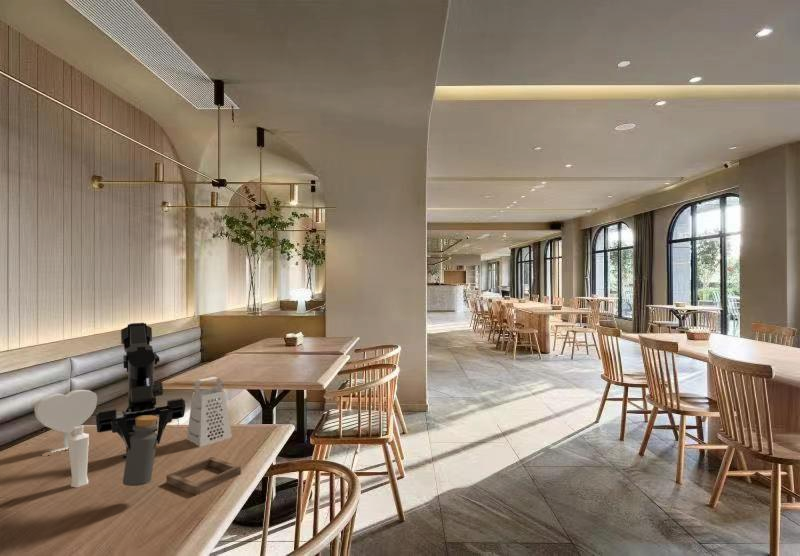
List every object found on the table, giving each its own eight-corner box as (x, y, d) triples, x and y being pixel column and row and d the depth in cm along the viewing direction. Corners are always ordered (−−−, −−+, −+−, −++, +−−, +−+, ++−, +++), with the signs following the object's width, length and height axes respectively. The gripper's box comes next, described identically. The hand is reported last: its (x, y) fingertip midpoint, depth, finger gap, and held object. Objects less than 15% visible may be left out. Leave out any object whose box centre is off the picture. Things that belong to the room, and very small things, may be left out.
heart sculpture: (93, 439, 142) (92, 386, 142) (99, 442, 138) (97, 388, 139) (34, 455, 129) (33, 397, 129) (38, 458, 126) (37, 399, 126)
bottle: (138, 487, 96) (148, 421, 98) (116, 484, 97) (126, 418, 98) (156, 478, 102) (165, 416, 103) (135, 475, 103) (145, 413, 104)
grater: (231, 437, 140) (230, 378, 140) (200, 447, 132) (198, 384, 132) (217, 430, 147) (216, 374, 147) (186, 439, 139) (185, 379, 139)
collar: (166, 483, 108) (166, 475, 108) (211, 464, 119) (211, 457, 119) (195, 495, 101) (195, 487, 101) (240, 473, 112) (240, 466, 112)
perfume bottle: (95, 480, 110) (94, 424, 111) (78, 488, 106) (77, 430, 106) (83, 478, 112) (82, 423, 112) (66, 486, 108) (64, 428, 108)
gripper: (95, 377, 98) (94, 438, 89) (183, 367, 109) (190, 420, 100) (97, 403, 105) (96, 462, 96) (180, 390, 115) (186, 443, 106)
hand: (144, 446), depth 99 cm, fingers closed on bottle, 6 cm apart
